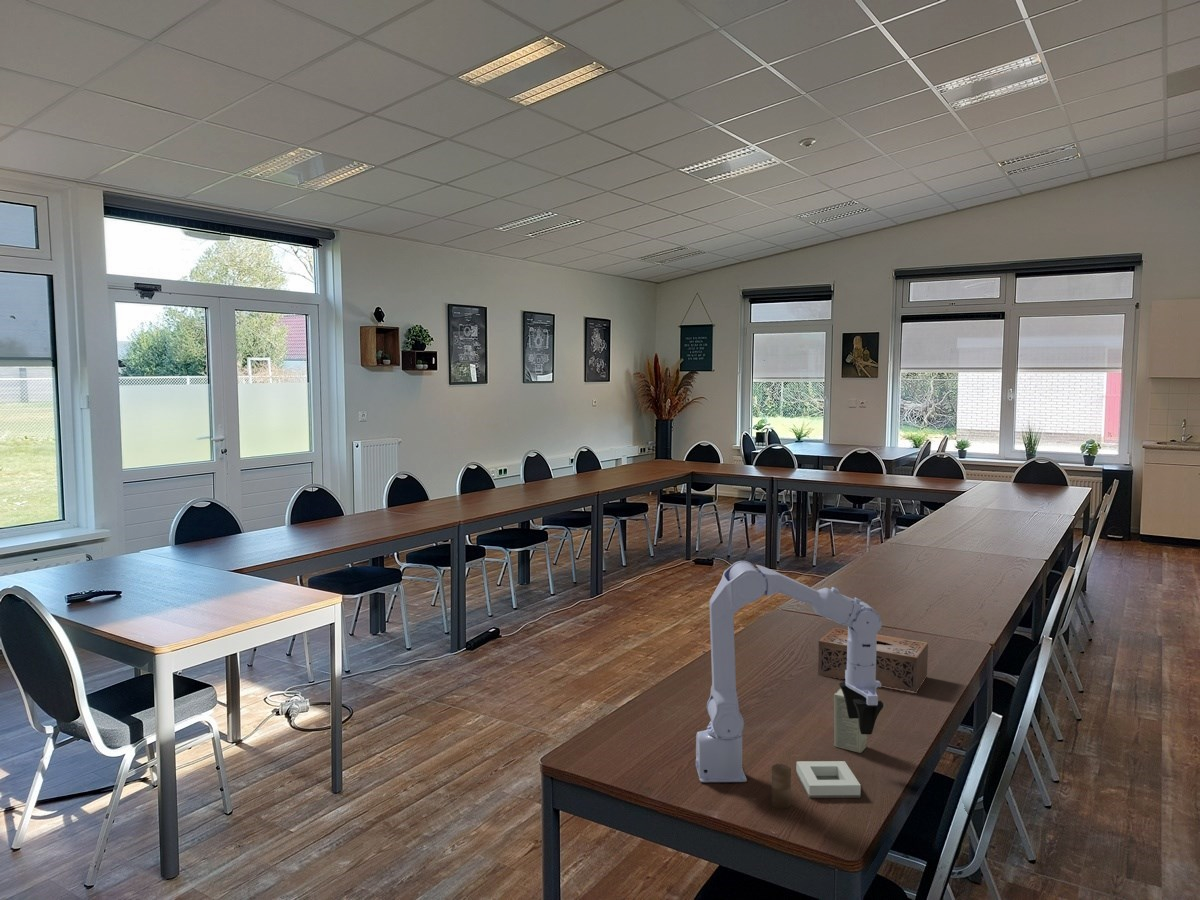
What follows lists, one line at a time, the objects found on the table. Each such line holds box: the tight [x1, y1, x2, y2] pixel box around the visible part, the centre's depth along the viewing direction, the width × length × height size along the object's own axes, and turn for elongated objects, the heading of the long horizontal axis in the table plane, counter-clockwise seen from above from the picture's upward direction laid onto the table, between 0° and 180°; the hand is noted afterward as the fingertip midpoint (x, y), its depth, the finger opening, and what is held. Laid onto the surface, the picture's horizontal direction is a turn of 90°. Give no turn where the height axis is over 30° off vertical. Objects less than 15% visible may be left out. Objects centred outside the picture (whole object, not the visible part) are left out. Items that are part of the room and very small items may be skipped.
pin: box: [770, 763, 792, 810], centre depth 154 cm, size 4×4×7 cm
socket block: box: [795, 760, 862, 799], centre depth 161 cm, size 10×10×2 cm
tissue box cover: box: [817, 627, 929, 692], centre depth 221 cm, size 26×14×10 cm, turn 57°
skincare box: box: [833, 688, 868, 754], centre depth 178 cm, size 6×4×12 cm
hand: (859, 725), depth 165 cm, fingers open, 7 cm apart
